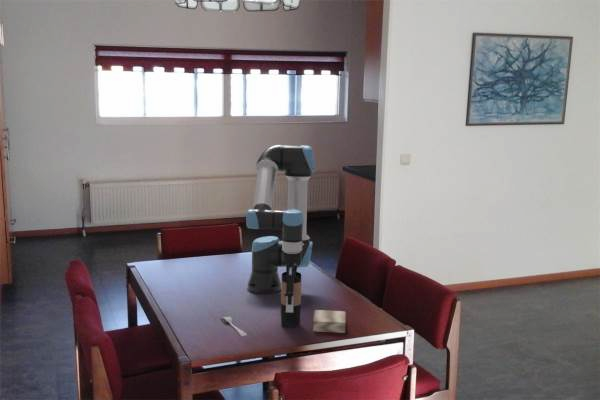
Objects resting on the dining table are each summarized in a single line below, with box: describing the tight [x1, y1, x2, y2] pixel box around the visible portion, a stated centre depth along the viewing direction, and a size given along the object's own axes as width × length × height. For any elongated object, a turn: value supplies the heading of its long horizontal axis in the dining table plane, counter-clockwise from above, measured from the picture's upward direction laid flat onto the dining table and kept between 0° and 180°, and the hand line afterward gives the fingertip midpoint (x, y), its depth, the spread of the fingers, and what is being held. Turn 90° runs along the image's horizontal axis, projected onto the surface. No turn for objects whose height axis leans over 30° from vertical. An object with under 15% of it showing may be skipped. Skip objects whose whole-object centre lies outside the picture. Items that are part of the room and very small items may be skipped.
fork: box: [222, 316, 248, 337], centre depth 240 cm, size 3×21×3 cm, turn 31°
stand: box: [312, 309, 347, 334], centre depth 242 cm, size 12×12×4 cm
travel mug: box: [280, 271, 302, 328], centre depth 242 cm, size 8×8×20 cm
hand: (290, 306), depth 242 cm, fingers open, 11 cm apart
